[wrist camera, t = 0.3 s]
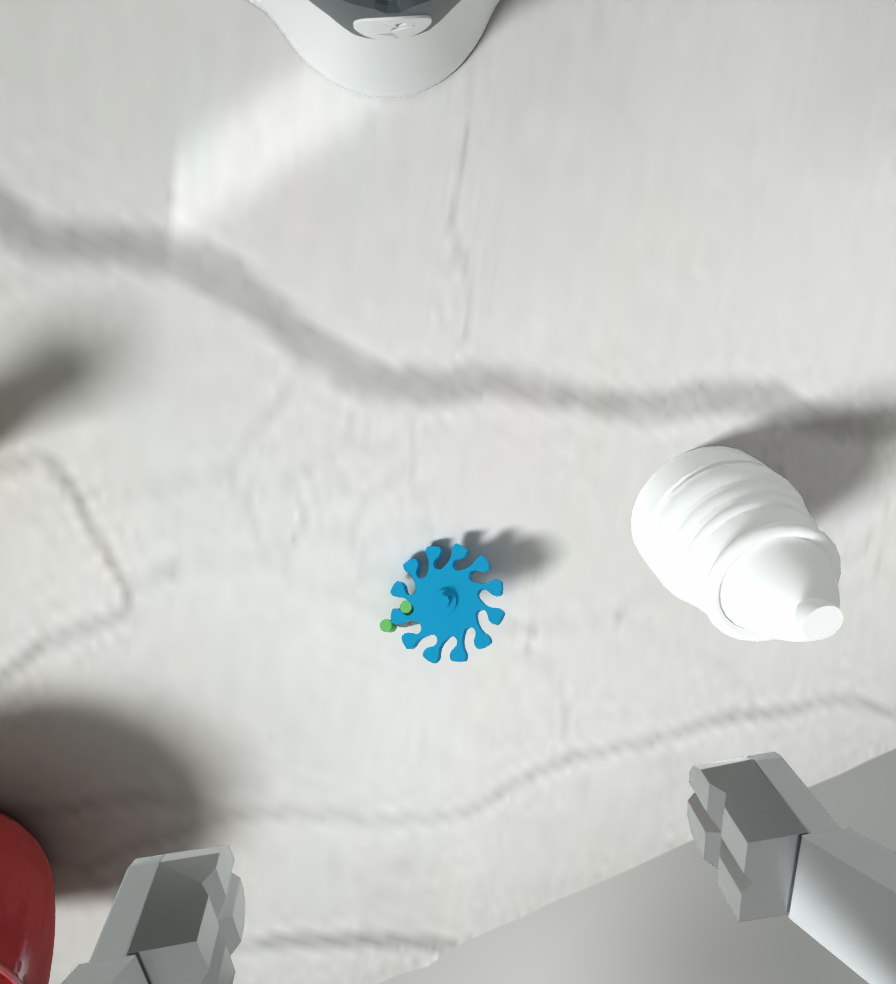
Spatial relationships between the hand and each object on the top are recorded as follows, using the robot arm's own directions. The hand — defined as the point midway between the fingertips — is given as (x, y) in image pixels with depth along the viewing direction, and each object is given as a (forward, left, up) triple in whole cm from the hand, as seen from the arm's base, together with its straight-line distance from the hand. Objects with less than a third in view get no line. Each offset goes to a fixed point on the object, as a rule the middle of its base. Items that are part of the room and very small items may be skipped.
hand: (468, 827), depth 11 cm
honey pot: (+16, +25, -40) cm, 49 cm away
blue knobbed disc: (+20, +1, -40) cm, 45 cm away
